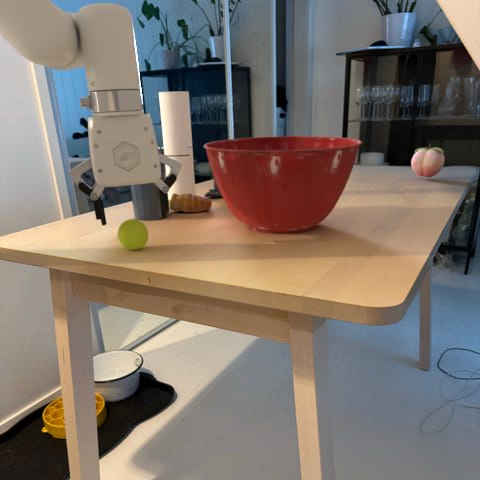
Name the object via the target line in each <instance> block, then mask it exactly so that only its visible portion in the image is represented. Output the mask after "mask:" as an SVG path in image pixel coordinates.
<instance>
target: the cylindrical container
mask: <svg viewBox="0 0 480 480" xmlns="http://www.w3.org/2000/svg"><path fill="white" fill-rule="evenodd" d="M189 93H190V92H189V91H187V90H186V91H185V90H184V91H183V90H182V91H159V92H158V101H159V111H160V121H161V131H162V132H161V133H162V142H163V148H164V156H167V157H169V158H171V159H173V160H176V161H178V162H180V163H181V168H180V171H179V174H178V176H177V180H176V181H175V183H174V184H173V185H172V187H171V188H170V189H169V192H168V201H171V197H172V194H174V193H176V194H178V195H181V194H189V193H190V194H192V195H197V193H196V181H195V179H196V178H195V165H194V150H193V138H192V137H193V135H192V120H191V106H190V94H189ZM165 168H166V177H167V176H168V175H169V172H170V167H169V166H168V165H165Z"/></svg>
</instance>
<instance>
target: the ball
mask: <svg viewBox="0 0 480 480" xmlns="http://www.w3.org/2000/svg"><path fill="white" fill-rule="evenodd" d="M117 239H118V241H119V243H120V245H122V247H124V248H125V249H128V250H131V251H132V250H133V251H136V250H140V249H142V248H143V247H144V246H146V244H147V243H148V241H149V231H148V228H147V226H146V225H145V223H143V221H141V220H138V219H135V218H131V219H127V220H126V219H125V220H124V221H122V223H121V224H120V225H119V226H118V229H117Z"/></svg>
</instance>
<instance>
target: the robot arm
mask: <svg viewBox="0 0 480 480" xmlns="http://www.w3.org/2000/svg"><path fill="white" fill-rule="evenodd" d="M134 28H135V27H134V21H133V16H132V13H131V12H130V10H129V9H128V8H127V7H125V6H123V5H121V4H117V3H110V2H109V3H107V2H101V3H99V2H96V3H89V4H86V5H83V6H81V7H80V8H79V9H78V11H77V12H68V11H65V10H63V9H61V8H60V7H58V6H57V5H56V4H54V3H53V2H52V1H51V0H0V36H1V37H2V38H3V39H4V41H5V42H7V44H9V45H10V47H12V48H13V50H14V51H16V53H18V54H19V56H22V57H23V58H24V59H25V60H27V61H28V62H31V63H33V64H36V65H39V66H43V67H45V68H48V69H52V70H56V71H68V70H74V69H79V68H84V71H85V78H86V82H87V89H88V95H86V96H84V97H79V103H80V108H81V109H86V110H89V111H91V113H92V116H88V118H87V132H88V133H87V134H88V145H89V155H90V157H88V158H87V159H85V160H84V161H82V162H80V163H79V164H78V165H76V166H75V167H73V168H72V169H70V170H69V171H68V176H69V177H70V179H71V180H72V182H73V183H74V184H75V186H76V187H77V188H78V190H79V191H81V192H82V193H83V194H85V196H87V197H88V198H90V199H91V200H92V204H93V209H94V215H95V220H97V221H98V220H100V223H101V226H106V225H107V218H106V212H105V205H104V200H103V198H102V197H101V194H102V193H103V192H104V190H105V188H111V187H112V188H113V187H114V188H116V187H126V186H130V185H137V184H147V183H154V184H155V185H156V186H157V187H158V191H157V201H158V209H159V215H160V216H161V217H162V218H164V219H167V218H168V217H167V216H166V212H169V211H170V202H169V203H168V201H169V199H168V194H167V193H168V192H169V189H170V188H171V187H172V185H173V184H174V183H175V181H176V180H177V176H178V174H179V171H180V168H181V163H180V162H178V161H176V160H173V159H171V158H169V157H167V156H165V155H162V154H160V153H158V147H159V146H158V141H157V138H156V137H157V136H156V133H155V129H154V124H153V120H152V117H151V114H150V113H145V111H144V102H143V94H142V87H141V79H140V70H139V61H138V54H137V53H138V52H137V45H136V36H135V29H134ZM160 162H161V163H163V164H165V165H168V166H169V167H170V172H169V175H168V176H167V177H166V178H165V180H164V181H162V180H161V179H160V178H161V166H160ZM90 169H92V174H93V178H94V180H95V182H94V184H93V186H92V187H91V186H90V185H88V183H86V182H85V181H84V180H83V178H82V174H85V173H86V172H87V171H88V170H90ZM169 213H170V212H169Z"/></svg>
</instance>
